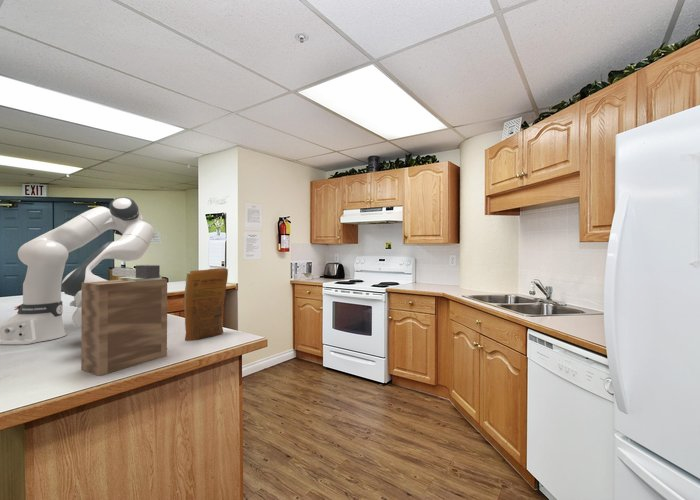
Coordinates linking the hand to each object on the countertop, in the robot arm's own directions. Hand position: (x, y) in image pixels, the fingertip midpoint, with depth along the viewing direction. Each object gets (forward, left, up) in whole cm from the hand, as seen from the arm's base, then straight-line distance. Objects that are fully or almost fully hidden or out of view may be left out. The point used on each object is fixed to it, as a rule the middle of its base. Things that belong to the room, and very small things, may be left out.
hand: (121, 285), depth 111 cm
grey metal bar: (+5, -4, +3) cm, 7 cm away
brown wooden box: (+6, -10, -24) cm, 26 cm away
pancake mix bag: (+24, +17, -24) cm, 38 cm away
